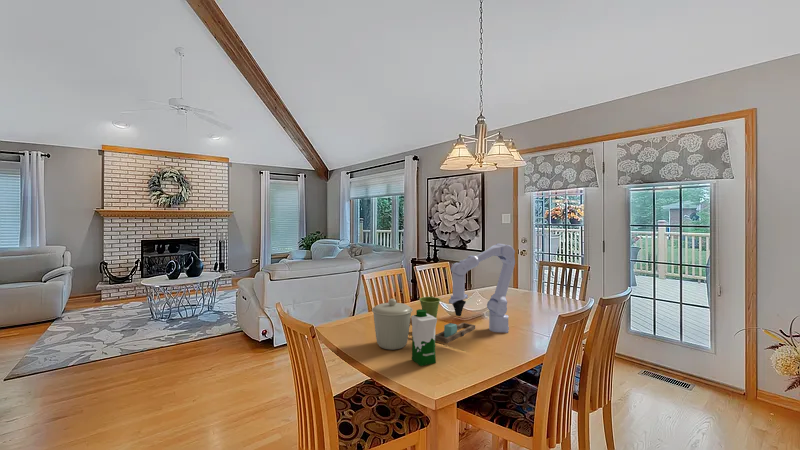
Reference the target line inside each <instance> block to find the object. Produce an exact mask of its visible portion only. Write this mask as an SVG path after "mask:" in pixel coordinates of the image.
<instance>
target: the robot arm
mask: <svg viewBox="0 0 800 450" xmlns="http://www.w3.org/2000/svg"><path fill="white" fill-rule="evenodd" d="M515 253H516V250H515V249H514V247H513V246H512V245H510V244H505V243H499V242H498V243H496V244H493V245H491V246H490V247H489V248H487V249H486V250H484V251H481V252H480V253H478V254H476V255H470V254H469V255H467V257H466V258H464V259H460V260H459V262H455V263H453V264H452V266H451V267H450V272H451V273H452V295H450V298H449V299H448V304H451V305H452V306H453V309H454V313H455V316H457V317H461V316H462V312H463V309H464V307H465V304H466V300H465V299H468V298H469V296H468V295H469V294H468V293H465V287H466V286H465V285H466V283H465V282H466V281H465V280H466V277H465V276H466V274H467V273H468V272H469V271H470V270H473V269H475V268H476V267H478V266H479V265H480V262H482V261H485V260H486V259H490V258H492V257H493V256H495V257H498V259H500V261H501V263H502V266H501V269H500V270H501V271H500V273H499V277H498V280H497V283H496V284H497V285H496V287H495V291H494V293H493V294H492V295H490V298H489V300H488V301H487V304H486V307H487V310H488V316H489V317H488V330H489V331H490V332H493V333H506V334H508V333H509V331H510V326H509V315H508V314H506V313H507V311H508V300H507V298H506V297H507V294H508V289H509V286H510V284H511V283H510V282H511V279H512V276H513V272H514V268H515V265H516V259H515Z"/></svg>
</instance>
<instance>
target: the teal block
mask: <svg viewBox="0 0 800 450" xmlns="http://www.w3.org/2000/svg"><path fill="white" fill-rule="evenodd" d="M457 325H458V324H456V323H452V322H449V323H447V324H444V326H443V328H444V329H443V331H444V337H445V338H447V337H449V336H451V335H453V334H455V333H457V332H458V330H457Z"/></svg>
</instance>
